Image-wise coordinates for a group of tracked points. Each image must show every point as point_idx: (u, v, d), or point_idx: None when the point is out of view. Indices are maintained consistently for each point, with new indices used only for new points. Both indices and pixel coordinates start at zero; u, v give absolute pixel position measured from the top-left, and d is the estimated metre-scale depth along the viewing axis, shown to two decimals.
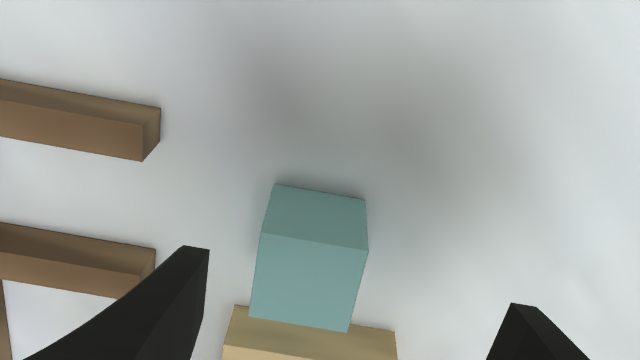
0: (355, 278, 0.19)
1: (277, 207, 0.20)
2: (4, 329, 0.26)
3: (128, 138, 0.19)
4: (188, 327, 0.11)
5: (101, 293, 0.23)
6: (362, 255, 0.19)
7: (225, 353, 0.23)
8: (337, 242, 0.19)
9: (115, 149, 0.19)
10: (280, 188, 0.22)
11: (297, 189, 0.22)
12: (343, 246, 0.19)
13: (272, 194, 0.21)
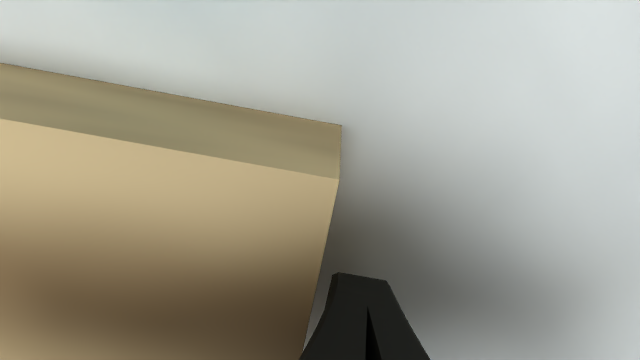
0: None
1: None
2: None
3: None
4: None
5: None
6: None
7: None
8: None
9: None
10: None
11: None
12: None
13: None
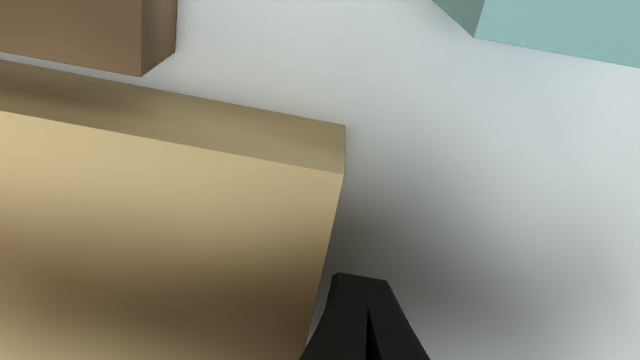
0: None
1: None
2: None
3: None
4: None
5: (43, 51, 0.09)
6: None
7: None
8: None
9: None
10: None
11: None
12: None
13: None
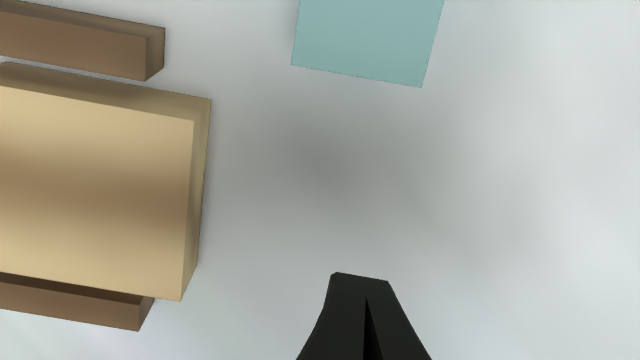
0: None
1: None
2: None
3: None
4: None
5: (95, 68, 0.18)
6: None
7: None
8: None
9: None
10: None
11: None
12: None
13: None
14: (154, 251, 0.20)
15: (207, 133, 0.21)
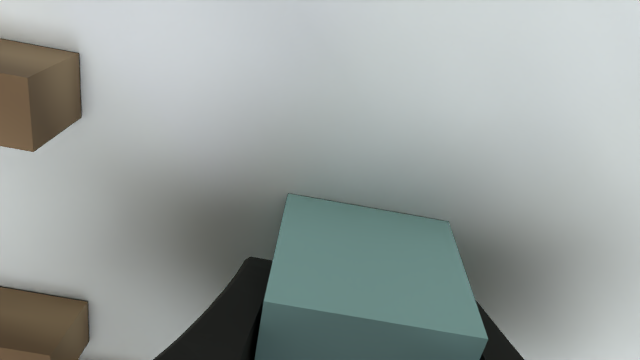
0: None
1: (296, 241, 0.11)
2: None
3: (1, 104, 0.10)
4: None
5: None
6: (474, 346, 0.09)
7: None
8: (422, 318, 0.09)
9: None
10: (299, 204, 0.12)
11: (329, 205, 0.12)
12: (435, 328, 0.09)
13: (285, 215, 0.12)
14: None
15: None
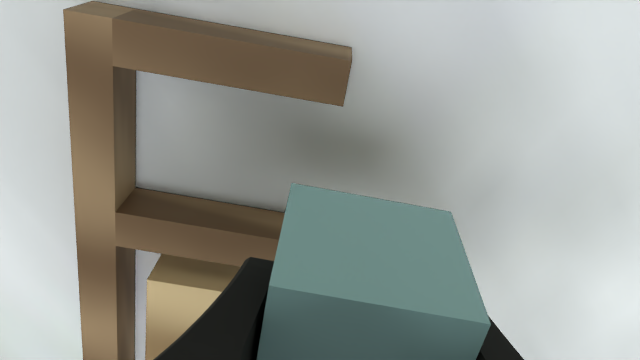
0: None
1: (300, 228, 0.11)
2: (132, 313, 0.23)
3: (331, 77, 0.16)
4: (259, 339, 0.11)
5: None
6: (477, 332, 0.09)
7: (150, 291, 0.20)
8: (425, 303, 0.09)
9: (313, 91, 0.16)
10: (303, 193, 0.12)
11: (332, 194, 0.12)
12: (439, 313, 0.09)
13: (289, 204, 0.12)
14: None
15: None
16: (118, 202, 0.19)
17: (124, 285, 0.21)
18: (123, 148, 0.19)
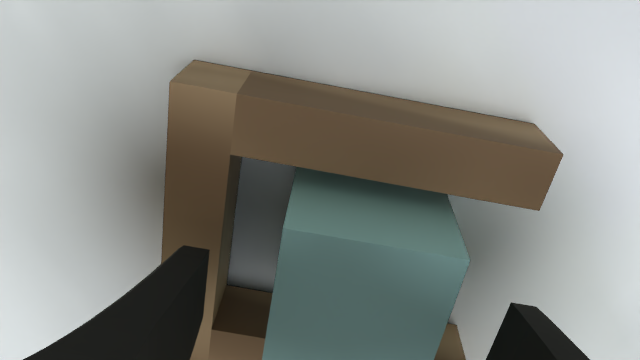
0: (443, 306, 0.11)
1: (308, 186, 0.13)
2: None
3: (531, 174, 0.12)
4: (188, 327, 0.11)
5: None
6: (458, 267, 0.11)
7: None
8: (415, 244, 0.11)
9: (502, 191, 0.12)
10: None
11: None
12: (426, 251, 0.11)
13: (298, 168, 0.13)
14: None
15: None
16: (214, 316, 0.15)
17: None
18: (225, 247, 0.14)
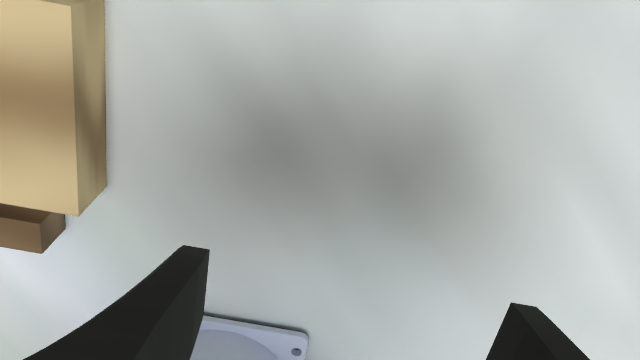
0: None
1: None
2: None
3: None
4: (188, 327, 0.11)
5: None
6: None
7: None
8: None
9: None
10: None
11: None
12: None
13: None
14: (45, 159, 0.19)
15: (103, 35, 0.19)
16: None
17: None
18: None
